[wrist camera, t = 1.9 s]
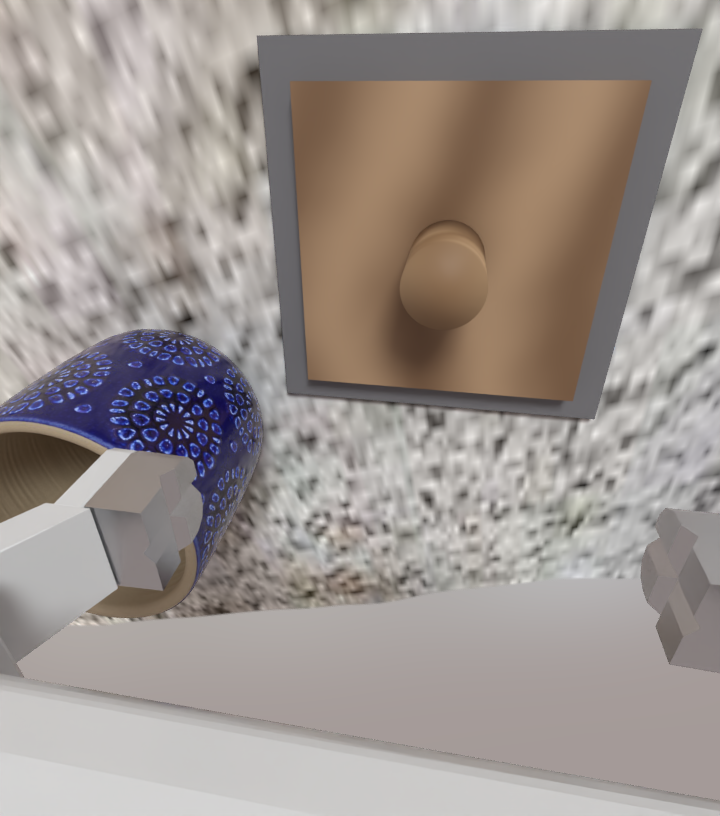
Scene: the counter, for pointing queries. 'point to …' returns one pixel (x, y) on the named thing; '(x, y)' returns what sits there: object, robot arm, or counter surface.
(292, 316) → the mat
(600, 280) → the lid
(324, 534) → the counter surface
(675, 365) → the counter surface
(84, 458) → the planter
